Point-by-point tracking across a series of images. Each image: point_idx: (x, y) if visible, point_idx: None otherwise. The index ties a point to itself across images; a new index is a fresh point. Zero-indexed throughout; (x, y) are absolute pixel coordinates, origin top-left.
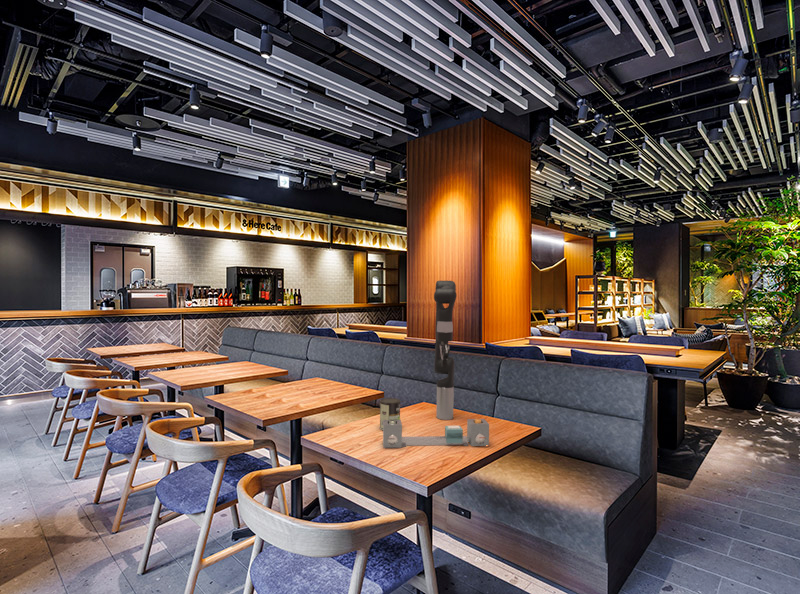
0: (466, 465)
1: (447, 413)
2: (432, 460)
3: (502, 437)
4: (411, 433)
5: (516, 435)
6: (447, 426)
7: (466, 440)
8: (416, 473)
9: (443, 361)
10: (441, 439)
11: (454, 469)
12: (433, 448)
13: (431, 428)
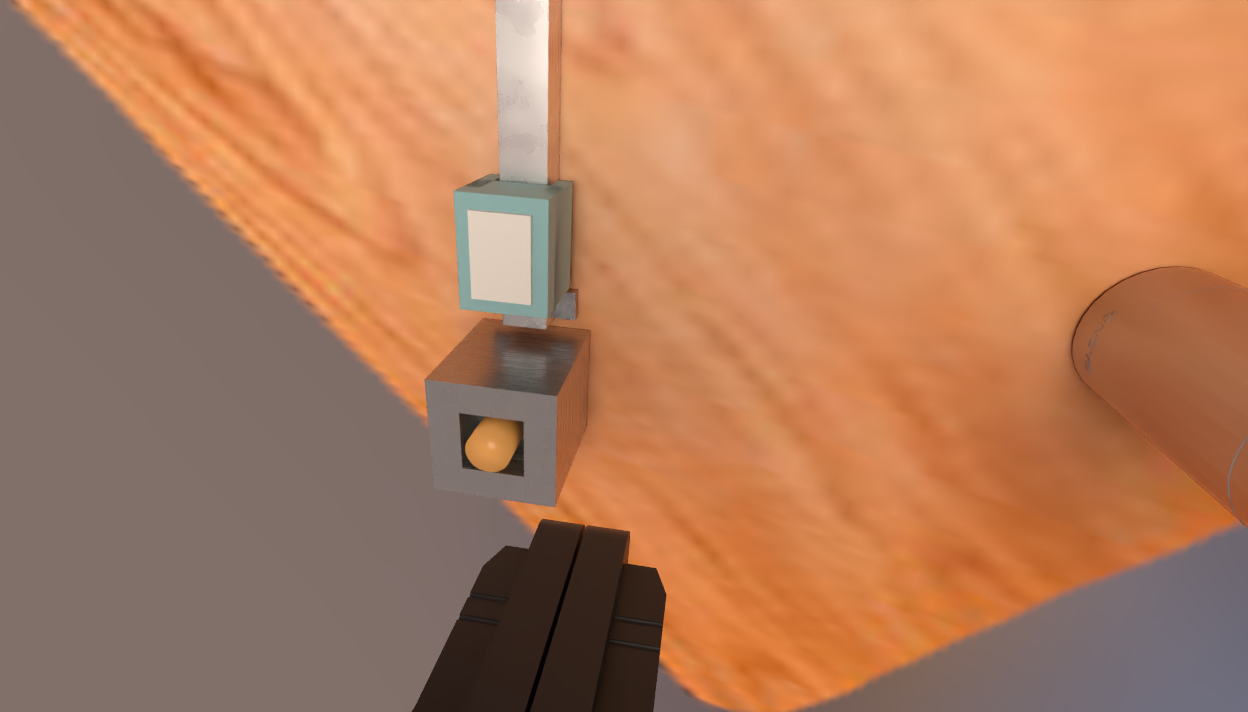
0: (216, 201)
1: (1101, 360)
2: (252, 4)
3: None
4: None
5: None
6: (528, 214)
7: None
8: None
9: (431, 673)
10: (500, 139)
11: (151, 116)
12: (455, 60)
13: (895, 147)
